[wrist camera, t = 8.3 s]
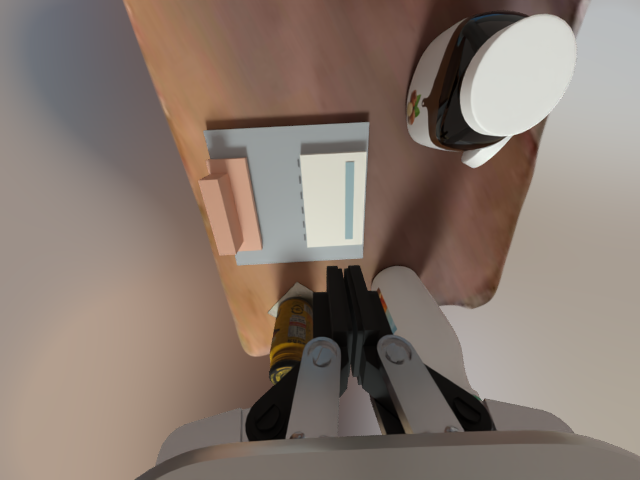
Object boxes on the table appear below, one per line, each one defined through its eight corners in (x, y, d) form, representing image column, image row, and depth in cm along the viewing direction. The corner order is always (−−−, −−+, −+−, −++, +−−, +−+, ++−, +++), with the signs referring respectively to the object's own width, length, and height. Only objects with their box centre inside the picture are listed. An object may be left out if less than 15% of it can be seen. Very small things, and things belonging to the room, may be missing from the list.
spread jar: (414, 37, 23) (496, -30, 13) (520, 43, 24) (681, -17, 13) (392, 161, 29) (438, 183, 18) (479, 163, 29) (571, 186, 19)
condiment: (267, 312, 40) (251, 382, 29) (297, 281, 37) (291, 346, 26) (300, 330, 42) (297, 400, 31) (331, 302, 39) (338, 369, 28)
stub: (208, 159, 27) (191, 165, 23) (246, 157, 27) (235, 163, 23) (231, 248, 32) (221, 265, 28) (263, 246, 32) (256, 263, 28)
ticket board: (206, 130, 26) (198, 131, 24) (367, 122, 27) (371, 122, 24) (239, 261, 35) (234, 270, 33) (361, 254, 35) (364, 262, 33)
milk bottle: (379, 260, 35) (448, 399, 18) (425, 268, 36) (533, 407, 19) (364, 297, 39) (409, 445, 21) (406, 304, 40) (482, 450, 22)
